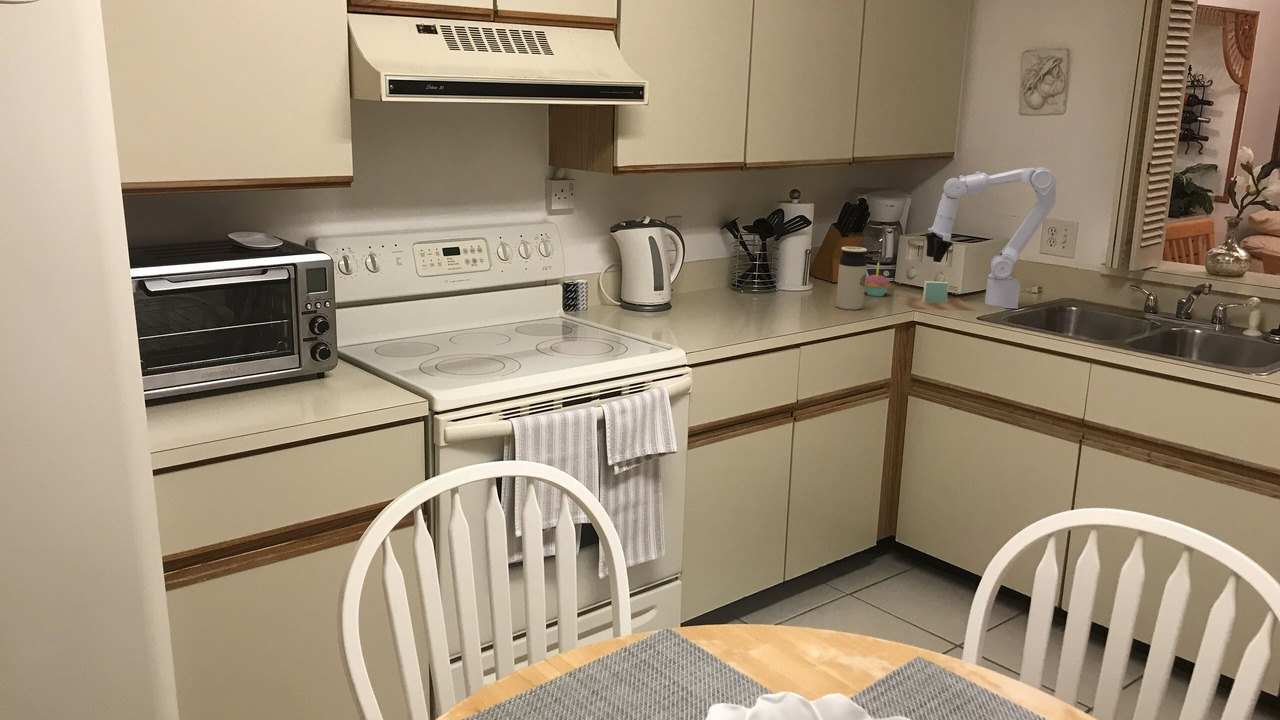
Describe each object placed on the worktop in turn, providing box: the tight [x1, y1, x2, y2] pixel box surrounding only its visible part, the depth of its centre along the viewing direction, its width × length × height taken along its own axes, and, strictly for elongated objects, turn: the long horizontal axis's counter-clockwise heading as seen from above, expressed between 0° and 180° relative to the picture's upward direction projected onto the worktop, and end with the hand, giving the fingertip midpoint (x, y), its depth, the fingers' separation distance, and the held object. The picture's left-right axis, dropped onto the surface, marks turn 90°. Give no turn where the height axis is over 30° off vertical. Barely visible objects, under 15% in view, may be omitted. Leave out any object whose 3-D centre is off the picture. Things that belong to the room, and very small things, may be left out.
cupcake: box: [864, 260, 891, 297], centre depth 323 cm, size 9×8×12 cm
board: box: [896, 296, 978, 312], centre depth 313 cm, size 20×18×1 cm
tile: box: [922, 280, 949, 303], centre depth 313 cm, size 7×2×6 cm, turn 90°
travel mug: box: [835, 246, 868, 311], centre depth 305 cm, size 8×8×18 cm
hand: (933, 259), depth 318 cm, fingers open, 7 cm apart
